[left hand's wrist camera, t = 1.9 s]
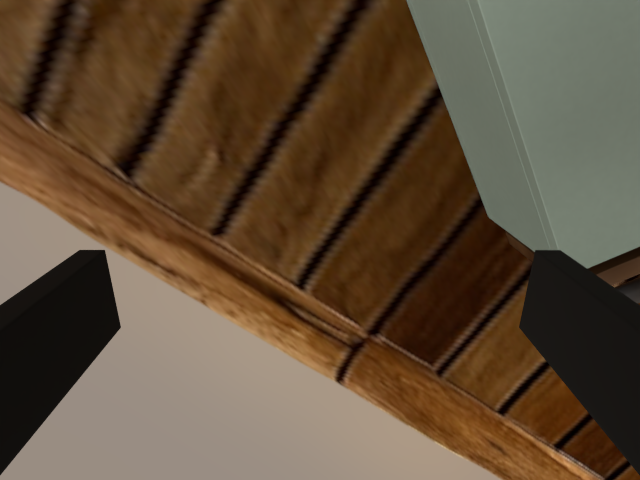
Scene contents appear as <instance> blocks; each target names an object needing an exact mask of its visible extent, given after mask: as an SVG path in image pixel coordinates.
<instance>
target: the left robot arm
mask: <svg viewBox="0 0 640 480" xmlns="http://www.w3.org/2000/svg"><path fill="white" fill-rule="evenodd" d="M120 328H121V326H120V321H119V316H118V311H117V307H116V302H115V297H114V292H113V287H112V282H111V278H110V273H109V268H108V263H107V258H106V254H105V250H79V251H78V252H76V253H75V254H73V255H72V256H71V257H69V258H68V259H66V260H65V261H63V262H62V263H60V264H59V265H58V266H56V267H55V268H53V269H52V270H50V271H49V272H47V273H46V274H45V275H43V276H42V277H40V278H39V279H37V280H36V281H34V282H33V283H32V284H30V285H29V286H27V287H26V288H24V289H23V290H21V291H20V292H19V293H17V294H16V295H14V296H13V297H11V298H10V299H9V300H7V301H6V302H4V303H3V304H1V305H0V475H1V474H2V472H3V471H4V470H5V469H6V468H7V466H8V465H9V464H10V463H11V461H12V460H13V459H14V458H15V456H16V455H17V454H18V453H19V452H20V450H21V449H22V448H23V447H24V445H25V444H26V443H27V442H28V441H29V439H30V438H31V437H32V436H33V434H34V433H35V432H36V431H37V430H38V428H39V427H40V426H41V425H42V423H43V422H44V421H45V420H46V418H47V417H48V416H49V415H50V414H51V412H52V411H53V410H54V409H55V407H56V406H57V405H58V404H59V403H60V401H61V400H62V399H63V398H64V396H65V395H66V394H67V393H68V392H69V390H70V389H71V388H72V387H73V385H74V384H75V383H76V382H77V380H78V379H79V378H80V377H81V376H82V374H83V373H84V372H85V371H86V369H87V368H88V367H89V366H90V365H91V363H92V362H93V361H94V360H95V358H96V357H97V356H98V355H99V354H100V352H101V351H102V350H103V349H104V347H105V346H106V345H107V344H108V342H109V341H110V340H111V339H112V338H113V336H114V335H115V334H116V333H117V331H118V330H119V329H120ZM519 328H520V329H521V330H522V331H523V333H524V334H525V335H526V336H527V338H528V339H529V340H530V341H531V342H532V344H533V345H534V346H535V347H536V349H537V350H538V351H539V352H540V354H541V355H542V356H543V357H544V358H545V360H546V361H547V362H548V363H549V365H550V366H551V367H552V368H553V369H554V371H555V372H556V373H557V374H558V376H559V377H560V378H561V379H562V380H563V382H564V383H565V384H566V385H567V387H568V388H569V389H570V390H571V392H572V393H573V394H574V395H575V396H576V398H577V399H578V400H579V401H580V403H581V404H582V405H583V406H584V407H585V409H586V410H587V411H588V412H589V414H590V415H591V416H592V417H593V418H594V420H595V421H596V422H597V423H598V425H599V426H600V427H601V428H602V430H603V431H604V432H605V433H606V434H607V436H608V437H609V438H610V439H611V441H612V442H613V443H614V444H615V445H616V447H617V448H618V449H619V450H620V452H621V453H622V454H623V455H624V457H625V458H626V459H627V460H628V461H629V463H630V464H631V465H632V466H633V468H634V469H635V470H636V471H637V472H638V474H639V475H640V305H639V304H637V303H636V302H634V301H633V300H631V299H630V298H629V297H627V296H626V295H624V294H623V293H621V292H620V291H619V290H617V289H616V288H614V287H613V286H611V285H610V284H608V283H607V282H606V281H604V280H603V279H601V278H600V277H598V276H597V275H595V274H594V273H593V272H591V271H590V270H588V269H587V268H585V267H584V266H583V265H581V264H580V263H578V262H577V261H575V260H574V259H572V258H571V257H570V256H568V255H567V254H565V253H564V252H562V251H561V250H535V254H534V258H533V263H532V268H531V273H530V278H529V282H528V287H527V292H526V297H525V302H524V307H523V311H522V316H521V321H520V326H519Z"/></svg>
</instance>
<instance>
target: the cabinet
mask: <svg viewBox="0 0 640 480" xmlns="http://www.w3.org/2000/svg"><path fill="white" fill-rule="evenodd" d="M406 1H407V3H408V6H409V9H410V11H411V14H412V17H413V19H414V22H415V25H416V27H417V30H418V32H419V35H420V38H421V40H422V43H423V46H424V48H425V51H426V54H427V56H428V59H429V62H430V64H431V67H432V69H433V72H434V75H435V77H436V80H437V83H438V85H439V88H440V91H441V93H442V96H443V99H444V101H445V104H446V106H447V109H448V112H449V114H450V117H451V120H452V122H453V125H454V128H455V130H456V133H457V136H458V138H459V141H460V143H461V146H462V149H463V151H464V154H465V157H466V159H467V162H468V165H469V167H470V170H471V173H472V175H473V178H474V180H475V183H476V186H477V188H478V191H479V194H480V196H481V199H482V202H483V204H484V207H485V210H486V212H487V215H488V217H489V218H490V219H492V220H493V221H494V222H495V223H497V224H498V225H499V226H501V227H502V228H503V229H505V230H506V231H507V232H509V233H510V234H511V235H513V236H514V237H515V238H517V239H518V240H519V241H521V242H522V243H523V244H525V245H526V246H527V247H529V248H530V249H531V250H533V251H534V252H535V250H561V251H562V252H564V253H565V254H567V255H568V256H570V257H571V258H572V259H574V260H575V261H577V262H578V263H580V264H581V265H583V266H584V267H585V268H590V267H592V266H595V265H597V264H599V263H602V262H604V261H607V260H609V259H611V258H614V257H616V256H619V255H621V254H623V253H626V252H628V251H630V250H633V249H635V248H638V247H640V0H406Z"/></svg>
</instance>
